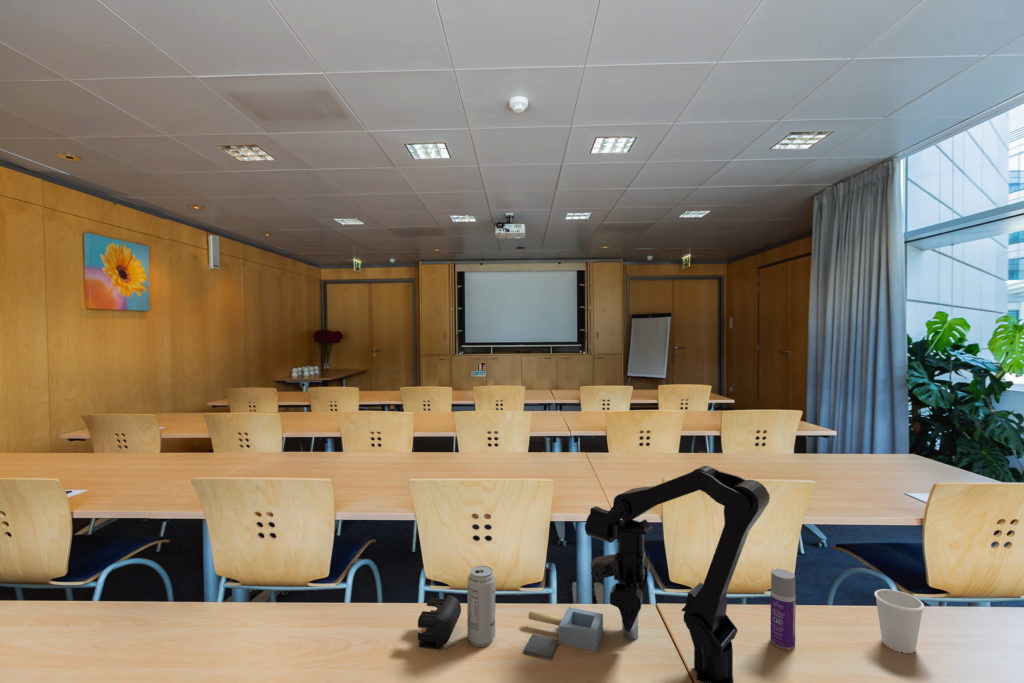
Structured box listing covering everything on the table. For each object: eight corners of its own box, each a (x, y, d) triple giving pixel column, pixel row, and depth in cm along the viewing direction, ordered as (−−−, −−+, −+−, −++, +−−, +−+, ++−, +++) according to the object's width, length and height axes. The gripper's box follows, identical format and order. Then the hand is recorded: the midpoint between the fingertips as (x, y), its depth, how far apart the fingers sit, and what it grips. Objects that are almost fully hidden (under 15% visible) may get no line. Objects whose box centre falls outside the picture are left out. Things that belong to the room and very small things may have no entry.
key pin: (638, 633, 109) (639, 592, 109) (637, 641, 106) (637, 600, 106) (623, 629, 111) (623, 589, 110) (621, 638, 107) (621, 597, 107)
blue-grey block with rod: (602, 629, 110) (602, 613, 110) (595, 651, 103) (595, 633, 103) (535, 615, 116) (535, 600, 116) (523, 634, 109) (523, 618, 109)
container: (770, 646, 105) (770, 575, 105) (770, 634, 109) (770, 566, 109) (795, 652, 103) (796, 580, 103) (794, 640, 107) (795, 571, 107)
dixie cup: (893, 657, 101) (893, 608, 101) (865, 633, 109) (865, 588, 109) (934, 658, 101) (934, 609, 101) (903, 634, 109) (903, 589, 109)
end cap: (449, 652, 103) (449, 620, 103) (417, 649, 104) (417, 617, 104) (461, 624, 113) (461, 595, 113) (431, 622, 114) (431, 592, 114)
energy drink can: (498, 645, 105) (498, 575, 105) (470, 650, 103) (470, 579, 103) (491, 629, 111) (491, 562, 110) (465, 634, 109) (465, 566, 109)
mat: (558, 642, 106) (558, 639, 106) (551, 659, 100) (551, 656, 100) (532, 636, 108) (532, 633, 108) (523, 652, 102) (523, 650, 102)
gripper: (601, 528, 120) (601, 592, 120) (585, 560, 102) (585, 635, 102) (649, 534, 116) (649, 600, 116) (640, 569, 98) (640, 647, 98)
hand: (630, 619), depth 108 cm, fingers open, 9 cm apart
